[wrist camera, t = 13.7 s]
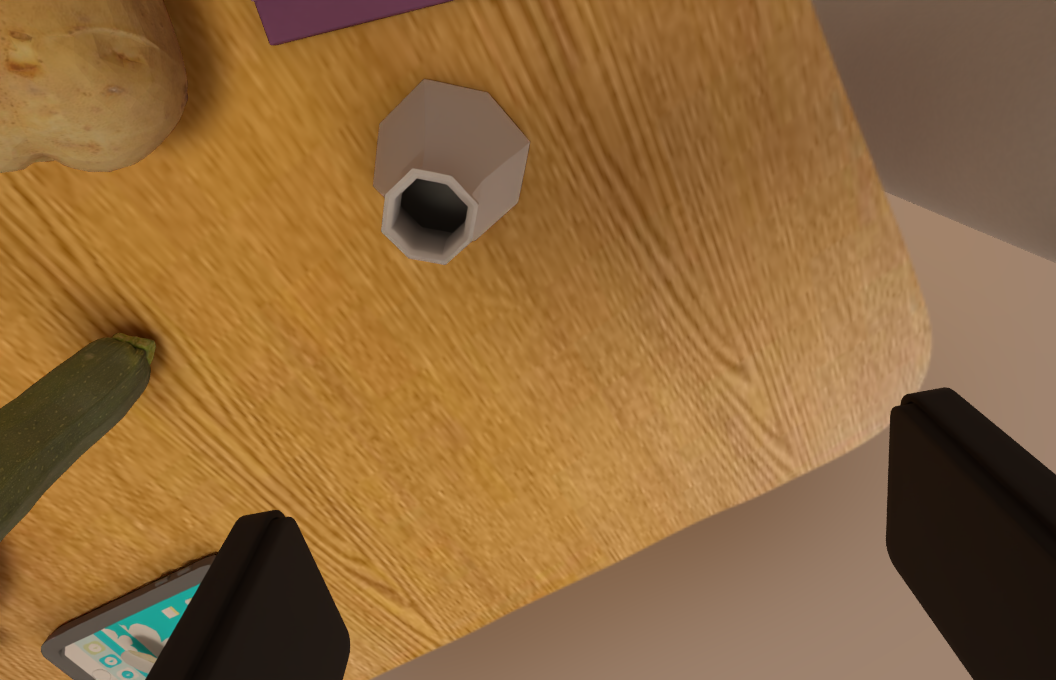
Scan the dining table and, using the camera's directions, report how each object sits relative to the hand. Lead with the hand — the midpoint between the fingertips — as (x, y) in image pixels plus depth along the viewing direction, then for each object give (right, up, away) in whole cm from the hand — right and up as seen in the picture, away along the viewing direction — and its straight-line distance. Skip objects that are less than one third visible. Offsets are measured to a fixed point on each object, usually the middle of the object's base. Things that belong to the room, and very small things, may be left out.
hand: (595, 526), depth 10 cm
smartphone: (-24, -16, +33) cm, 44 cm away
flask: (-5, +11, +20) cm, 24 cm away
